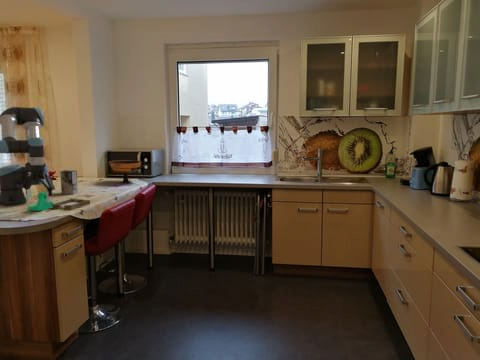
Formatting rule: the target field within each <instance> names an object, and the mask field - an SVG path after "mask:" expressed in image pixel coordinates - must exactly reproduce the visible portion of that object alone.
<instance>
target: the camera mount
mask: <svg viewBox="0 0 480 360" xmlns="http://www.w3.org/2000/svg"><path fill="white" fill-rule="evenodd" d="M37 200H38V201H37V203H35V204H32V205H28V206H27V210H28V211H36V212H37V211H38V212H39V211H40V212H43V211H48V210H50V208H53V204H54V202H53V200H52V201H51V202H47V192H42V191H41V192H38V193H37ZM47 209H48V210H47Z"/></svg>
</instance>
